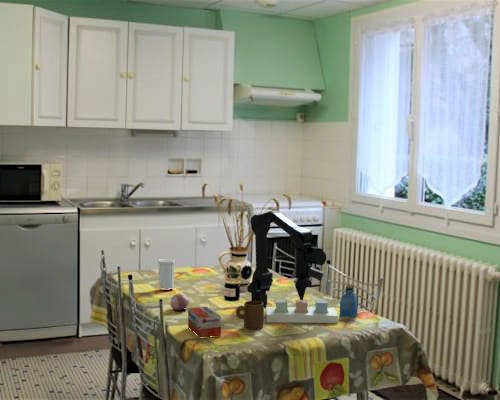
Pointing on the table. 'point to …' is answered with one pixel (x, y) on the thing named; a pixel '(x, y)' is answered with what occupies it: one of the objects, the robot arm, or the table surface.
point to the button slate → (321, 306)
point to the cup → (166, 273)
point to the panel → (301, 315)
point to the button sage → (281, 305)
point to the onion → (179, 302)
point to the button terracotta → (301, 306)
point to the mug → (252, 314)
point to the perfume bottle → (349, 303)
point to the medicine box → (204, 321)
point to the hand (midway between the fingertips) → (301, 299)
